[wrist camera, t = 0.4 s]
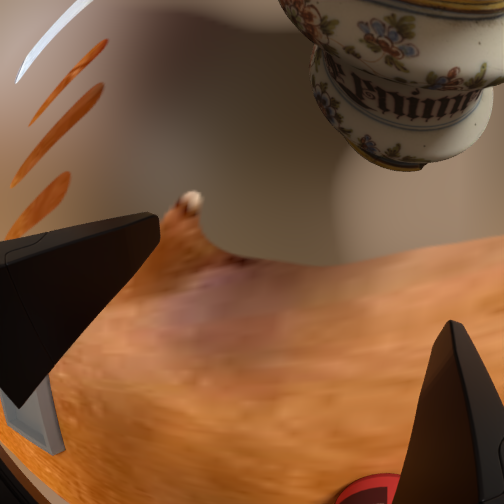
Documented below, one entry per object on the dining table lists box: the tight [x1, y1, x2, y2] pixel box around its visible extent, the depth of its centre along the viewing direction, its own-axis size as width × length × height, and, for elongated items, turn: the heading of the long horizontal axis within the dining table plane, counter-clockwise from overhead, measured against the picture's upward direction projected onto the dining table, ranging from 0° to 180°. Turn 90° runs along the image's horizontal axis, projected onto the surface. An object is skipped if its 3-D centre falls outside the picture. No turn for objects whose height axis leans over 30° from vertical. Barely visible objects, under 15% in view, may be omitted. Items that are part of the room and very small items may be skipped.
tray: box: [0, 375, 65, 455], centre depth 34 cm, size 14×14×2 cm
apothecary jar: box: [278, 0, 504, 172], centre depth 13 cm, size 12×12×18 cm
